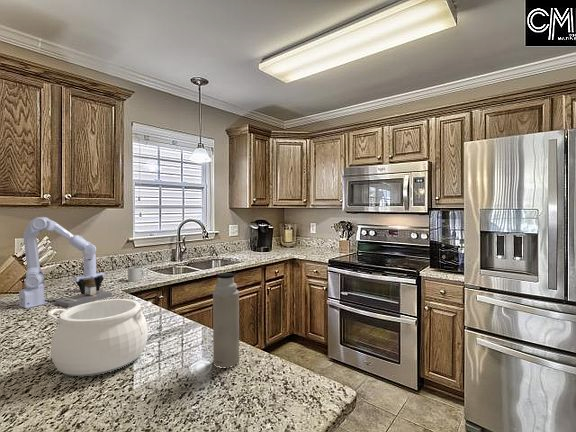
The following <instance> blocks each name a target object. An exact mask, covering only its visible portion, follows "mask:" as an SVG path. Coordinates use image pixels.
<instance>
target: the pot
mask: <svg viewBox="0 0 576 432" xmlns="http://www.w3.org/2000/svg"><path fill="white" fill-rule="evenodd" d="M151 306H152V302H151V301H144V302H142V303H141V304H140V302H138V301H137V300H135V299H129V298H126V299H125V298H111V299H100V300H96V301H92V302H88V303H84V304H80V305H77V306H73V307H68V308H67V309H65V308H53V309H51V310H49V311H48V312H47V313H46V314H47V315H46V316H47V317H50V318H53V319H54V320H55V321H56V322H57V326H56V329H55V330H54V332H53V334H52V336H51V340H50V343H49V344H50V357H51V360H52V362H53V364H54V366H55V368H56V370H58V371H59V372H60V373H62V374H64V375H65V374H66V376H68V375H69V377H73V376H78V377H77V378H85V377H84V376H91V377H95V376H94V375H98V376H100V375H99V374H103V373H107V372H110V371H113V372H115V371H114V370H116V371H118V370H117V369H119V370H121V369H123V368H125V367H127V366H129V365H131V364H132V363H134V362H135V361H136V360H137V359H138V358H139V357H140V356H141V354H143V352H144V349H146V346H147V341H148V336H149V335H148V331H149V330H148V329H149V328H148V323H147V319H146V317H145V315H144V313H143V312H142V311H143V310H144V309H149V308H150V307H151ZM57 312H61V313H60V314H59V317H57V316H56V315H55V314H54V313H57ZM133 361H134V362H133ZM130 363H131V364H130ZM128 364H129V365H128ZM126 365H127V366H126ZM124 366H125V367H124ZM122 367H123V368H122ZM120 368H121V369H120ZM110 373H111V372H110ZM107 374H108V373H107ZM103 375H104V374H103ZM79 376H80V377H79ZM81 376H82V377H81Z"/></svg>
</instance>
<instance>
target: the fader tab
mask: <svg viewBox="0 0 576 432" xmlns="http://www.w3.org/2000/svg"><path fill="white" fill-rule="evenodd" d="M85 294H87V295H93V294H96V285H92V284H89V285H85Z"/></svg>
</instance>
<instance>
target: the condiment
mask: <svg viewBox="0 0 576 432" xmlns="http://www.w3.org/2000/svg"><path fill="white" fill-rule="evenodd" d="M84 281H85V282H86V284H85V285H89V284H92V285H95V280H94V278H92V279H87V280H84Z"/></svg>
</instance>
